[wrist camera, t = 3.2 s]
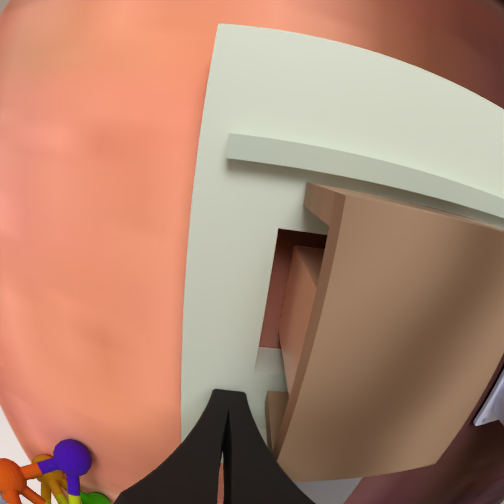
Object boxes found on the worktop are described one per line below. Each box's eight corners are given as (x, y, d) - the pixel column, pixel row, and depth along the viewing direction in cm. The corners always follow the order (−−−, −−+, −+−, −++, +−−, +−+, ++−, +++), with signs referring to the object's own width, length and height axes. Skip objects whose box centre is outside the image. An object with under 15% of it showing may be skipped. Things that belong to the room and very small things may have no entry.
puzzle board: (519, 135, 11) (551, 136, 9) (423, 432, 17) (436, 457, 14) (222, 43, 10) (217, 16, 8) (186, 433, 16) (180, 465, 13)
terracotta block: (380, 256, 13) (441, 306, 8) (358, 335, 14) (398, 405, 9) (294, 244, 13) (320, 296, 8) (278, 329, 14) (291, 407, 9)
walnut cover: (467, 216, 10) (541, 244, 6) (401, 402, 13) (434, 463, 9) (307, 181, 10) (346, 195, 6) (264, 403, 13) (269, 481, 9)
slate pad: (373, 451, 17) (376, 457, 16) (341, 498, 19) (342, 503, 18) (274, 455, 17) (274, 462, 16) (258, 501, 19) (258, 507, 18)
